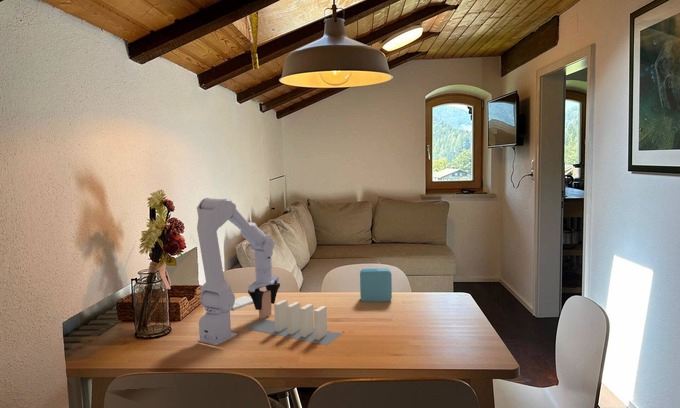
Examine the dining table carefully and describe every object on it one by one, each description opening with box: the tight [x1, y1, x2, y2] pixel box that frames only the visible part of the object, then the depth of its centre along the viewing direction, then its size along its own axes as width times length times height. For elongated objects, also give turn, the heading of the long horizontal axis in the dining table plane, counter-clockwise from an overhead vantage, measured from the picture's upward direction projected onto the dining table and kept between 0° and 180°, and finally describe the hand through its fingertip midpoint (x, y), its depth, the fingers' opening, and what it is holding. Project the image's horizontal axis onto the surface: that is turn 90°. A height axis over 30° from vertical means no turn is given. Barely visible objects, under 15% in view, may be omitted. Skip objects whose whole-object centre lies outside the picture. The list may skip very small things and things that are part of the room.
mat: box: [243, 318, 343, 346], centre depth 152 cm, size 10×32×1 cm, turn 61°
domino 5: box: [313, 305, 328, 340], centre depth 147 cm, size 5×2×9 cm, turn 151°
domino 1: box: [258, 289, 272, 319], centre depth 167 cm, size 5×2×9 cm, turn 151°
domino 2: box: [273, 299, 288, 332], centre depth 154 cm, size 5×2×9 cm, turn 151°
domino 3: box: [287, 301, 301, 334], centre depth 151 cm, size 5×2×9 cm, turn 151°
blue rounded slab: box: [359, 268, 393, 303], centre depth 184 cm, size 12×4×12 cm, turn 89°
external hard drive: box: [232, 295, 254, 311], centre depth 184 cm, size 2×8×12 cm
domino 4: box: [300, 303, 314, 337], centre depth 149 cm, size 5×2×9 cm, turn 151°
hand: (265, 306), depth 167 cm, fingers open, 7 cm apart
